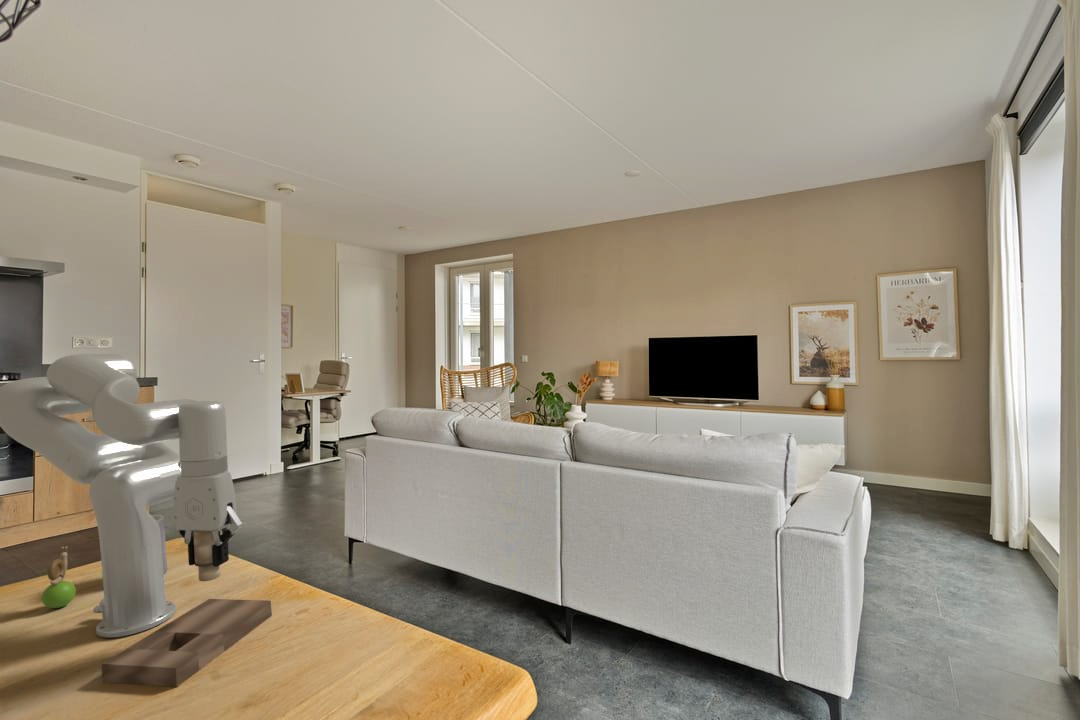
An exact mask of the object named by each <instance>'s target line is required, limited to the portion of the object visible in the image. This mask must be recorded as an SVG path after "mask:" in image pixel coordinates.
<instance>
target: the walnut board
mask: <svg viewBox="0 0 1080 720" xmlns="http://www.w3.org/2000/svg"><path fill="white" fill-rule="evenodd" d="M272 615H273V614H272V601H271V600H265V599H263V600H262V599H261V600H260V599H234V598H233V599H232V598H231V599H230V598H229V599H228V598H226V599H225V598H222V599H221V598H208V599H206V600H205V601H202V603H200V604H198V605H196V606H195V607H193V608H192V609H190V610H188V611H187V612H185V613H183V614H181V615H180V616H178V617H177V618H175V619H173V620H171V621H170V622H168V623H167V624H165V625H163V626H161V627H160V628H159V629H158V628H157V630H155V631H153V632H151V633H149V634H148V635H147V636H145V637H142V638H141V639H139V640H138V641H137V642H135V643H133V644H131V645H130V646H129V647H127V648H125V649H123V650H122V651H120V652H118V653H117V654H115V655H113V656H112V657H110V658H109V659H107V660H105V661H104V662H102V663H101V664H100V667H101V677H102V683H108V684H109V683H111V684H112V683H113V684H128V685H142V686H155V687H156V686H157V687H158V686H159V687H172V688H173V687H174V688H178V687H179V686H180V685H182V684H183V683H185V681H187V680H188V679H189V678H191V677H192V676H194V675H195V674H196V673H197V672H199V671H200V670H202V669H203V668H204V667H206V666H207V665H208V664H209V663H211V662H212V661H213V660H215V659H216V658H218V657H219V656H220V655H221V654H223V653H224V652H225V651H227V650H228V649H229V648H231V647H232V646H233V645H235V644H236V643H238V642H239V641H240V640H242V638H245V636H247V635H248V634H250V632H252V631H253V630H255V629H256V628H257V627H259V626H260V625H262V624H263V623H264V622H265V621H267V620H268V619H270V617H272Z"/></svg>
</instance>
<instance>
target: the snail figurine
mask: <svg viewBox="0 0 1080 720" xmlns="http://www.w3.org/2000/svg"><path fill="white" fill-rule="evenodd" d="M64 549H65V551H64ZM67 549H68V546H61V547H60V550H62V552H61V553H60V554H59V558H60V559H59V558H56V559H53V560H52V561H51V562H50V563H49V565H48V567H47V574H46V575H47V578H48V579H49V580H50V585H49V586H47V587H46V589H45V590H44V591H43V593H42V596H41V601H42V603H43V605H44V606H46V607H47V608H49V609H59V608H63V607H65V606H67V605H69V604H70V603H71V602H72V601H73V600H74V598H75V596H76V592H77V589H76V586H75V585H74V584H73V583H72V582H70V581H67V580H64V578H65V576H66V575H67V571H68V555H69V554H68V550H67Z"/></svg>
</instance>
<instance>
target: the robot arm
mask: <svg viewBox="0 0 1080 720" xmlns="http://www.w3.org/2000/svg"><path fill="white" fill-rule="evenodd" d="M137 378H138V371H137V368H136V366H135V364H134V362H133V361H132V360H131V359H130V358H128V357H126V356H125V355H123V354H118V353H91V354H90V353H88V354H87V353H86V354H85V353H84V354H71V355H67V356H63V357H60V358H58V359H56V360H55V361H54V362H52V363H51V364H50V365H49V366H48V368H47V371H46V376H39V377H28V378H22V379H17V380H14V381H10V382H7V383H5V384H3V385H1V386H0V428H1V429H2V430H3V432H4V433H6V434H7V436H8V437H10V438H11V439H13V440H14V441H16V442H17V443H19V444H21V445H23V446H24V447H26V448H29V449H31V450H32V451H34V452H35V453H37V454H39V456H41V457H42V458H44V459H45V460H46V461H48V462H49V463H50V464H51V465H53V466H54V467H56V468H57V469H58V470H60V472H63V474H65V475H66V476H67V477H68V478H70V479H71V480H73V481H75V482H77V483H79V484H84V485H88V498H89V501H90V504H91V506H92V510H93V513H94V516H95V519H96V525H97V531H98V539H99V540H98V541H99V548H100V549H99V550H100V561H101V572H102V574H101V575H102V587H103V598H102V599H101V600H100V601H99V605H95V606H94V607H93V610H92V611H93V613H94V614H101V615H102V617H101V618H102V620H101V621H100V622H98V624H97V625H96V626H95V627H96V628H95V631H96V636H99V637H101V638H108V639H112V638H120V637H121V638H122V637H125V636H131V635H135V634H137V633H141V632H144V631H147V630H149V629H153V628H154V627H156V626H158V625H161V624H162V623H164V622H166V621H168V620H169V619H170V618H171V617H173V615H174V614H175V613H176V610H177V608H176V603H174V602H173V601H169V600H166V589H165V577H164V575H165V574H164V573H163V560H162V547H161V535H160V528H159V525H158V523H157V521H156V520H155V519H154V518H153V517H152V516H151V515H152V514H150V513H149V511H148V510H147V508H149V507H151V506H154V505H158V504H161V503H163V502H167V501H171V500H172V499H173V505H172V507H173V513H172V515H173V519H172V520H173V521H172V523H171V527H172V528H173V529H175V530H177V531H178V532H179V534H180V536H181V537H182V538H183V539H184V541H183V542H184V543H185V545H187V553H188V555H187V556H188V557H187V558H188V566H195V553H194V532H193V531H212V534H213V538H214V542H215V544H216V545H214V546H212V556H213V566H214V567H218V566H219V565H220V566H222V565H223V564H226V562H227V563H228V561H229V559H230V558H229V557H230V556H229V555H230V554H229V553H230V552H229V542H230V541H231V539H232V537H234V535H235V534H236V533H237V532H238V531H240V530H241V529H242V528H243V526H244V525H243V522H242V521H241V519H240V518H239V516H238V515H237V513H238V512H237V500H236V493H235V487H234V481H233V477H232V474H231V472H230V471H229V466H228V464H229V463H228V445H227V443H228V441H227V425H226V424H227V422H226V421H227V420H226V419H227V418H226V407H225V405H224V404H223V403H222V402H220V401H217V400H203V401H201V400H200V401H198V400H195V399H187V398H185V399H184V398H182V399H181V398H180V399H172V400H163V401H155V402H154V401H153V402H145V403H139V404H138V403H136V402H137V401H138V399H139V396H140V392H141V388H140V384H139V382H138V380H137ZM89 412H91V415H92V418H93V421H94V424H95V425H96V426H97V429H99V430H100V432H102V433H103V434H98V433H96V432H94V431H92V430H90V429H89V428H87V427H86V426H85V425H83V424H82V423H80V422H79V421H76V420H73V419H70V418H68V417H67V418H66V417H62V416H67V415H74V414H83V413H89ZM173 440H178V447H179V451H178V452H179V453H177V452H175V450H173V449H172V448H170V447H168V446H167V445H166V444H164V443H163V442H167V441H173ZM229 525H230V526H229ZM219 530H221V534H220V531H219Z"/></svg>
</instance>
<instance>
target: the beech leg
mask: <svg viewBox="0 0 1080 720" xmlns="http://www.w3.org/2000/svg"><path fill="white" fill-rule="evenodd" d="M219 531H220V534H221V535H222V530H219ZM193 532H194V553H195V564H194V567H198V580H199V582H209V581H213V580H216V579H218V578H219V577H220V576H221V568H220V567H221V565H219V566H218V567H214V566H213V556H212V546H214V545H216V544H215V542H214V538H213V534H212V531H193Z"/></svg>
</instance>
